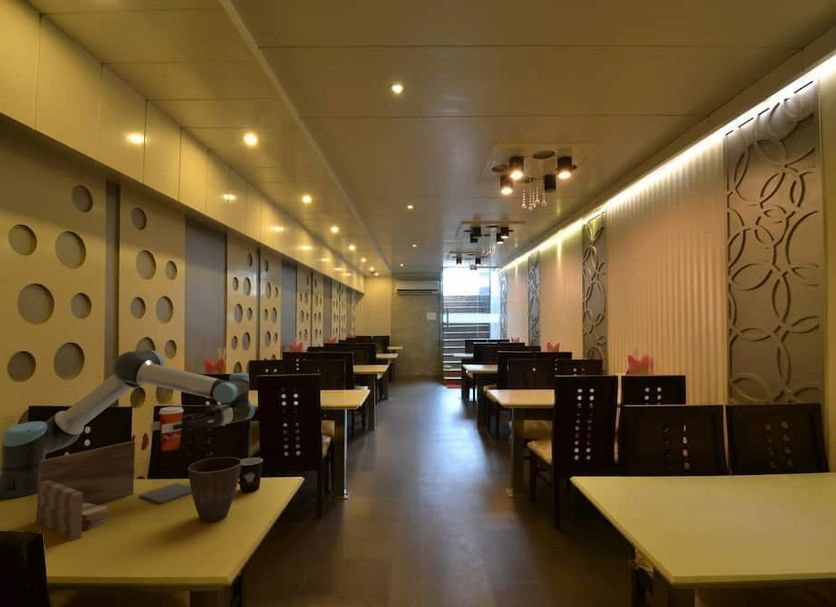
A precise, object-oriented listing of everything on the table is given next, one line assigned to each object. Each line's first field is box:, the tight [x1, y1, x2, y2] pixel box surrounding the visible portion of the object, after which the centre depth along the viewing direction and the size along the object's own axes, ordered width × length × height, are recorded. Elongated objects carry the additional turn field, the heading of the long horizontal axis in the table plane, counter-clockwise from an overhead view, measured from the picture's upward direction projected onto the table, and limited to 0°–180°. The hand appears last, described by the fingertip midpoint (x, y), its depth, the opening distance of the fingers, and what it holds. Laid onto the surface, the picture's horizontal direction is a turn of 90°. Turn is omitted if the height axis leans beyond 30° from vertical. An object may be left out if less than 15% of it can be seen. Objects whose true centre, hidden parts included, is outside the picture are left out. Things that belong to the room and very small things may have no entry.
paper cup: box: [158, 406, 185, 451], centre depth 150 cm, size 8×8×14 cm
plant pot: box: [187, 456, 242, 523], centre depth 130 cm, size 15×15×16 cm
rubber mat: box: [138, 482, 192, 505], centre depth 148 cm, size 13×13×1 cm
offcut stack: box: [81, 502, 111, 531], centre depth 126 cm, size 12×7×4 cm, turn 73°
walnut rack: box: [36, 440, 136, 541], centre depth 133 cm, size 24×26×18 cm
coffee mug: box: [237, 457, 264, 493], centre depth 153 cm, size 12×9×10 cm
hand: (156, 428), depth 145 cm, fingers closed on paper cup, 6 cm apart
